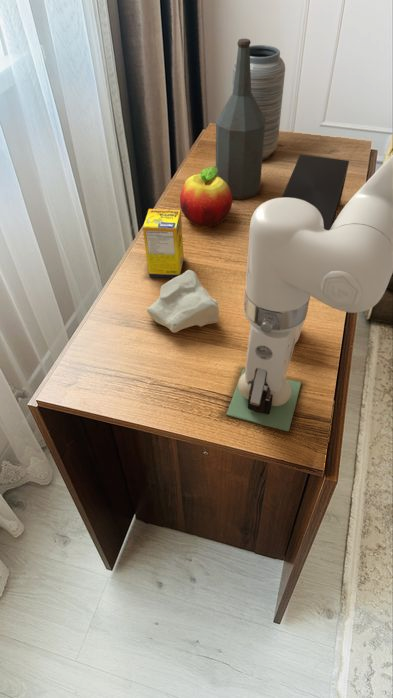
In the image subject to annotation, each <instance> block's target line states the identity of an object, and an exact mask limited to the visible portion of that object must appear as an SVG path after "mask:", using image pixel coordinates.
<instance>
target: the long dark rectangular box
mask: <svg viewBox="0 0 393 698" xmlns="http://www.w3.org/2000/svg"><path fill="white" fill-rule="evenodd" d="M349 164H350V160H347V159H340V158H333V157H332V158H331V157H325V156H318V155H309V154H303V153H302V154H301V153H300V154H299V156H298V158H297V161H296V163H295V166H294V168H293V170H292V172H291V175H290V177H289V179H288V182H287V184H286V186H285V189H284V192H283V194H282V195H281V198H283V197H288V198H296V199H300V200H304V201H306V202H308V203H310V204H311V205H313V206H314V207H316V208H317V209H318V211H319V212H320V214H321V216H322V218H323V224H324V229H325V230H330V228H331V227H332V225H333V223H334V222H335V220H336V218H337V213H338V209H339V207H340V206H341V202H342V198H343V197H342V196H343V192H344V187H345V183H346V178H347V173H348V169H349Z"/></svg>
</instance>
